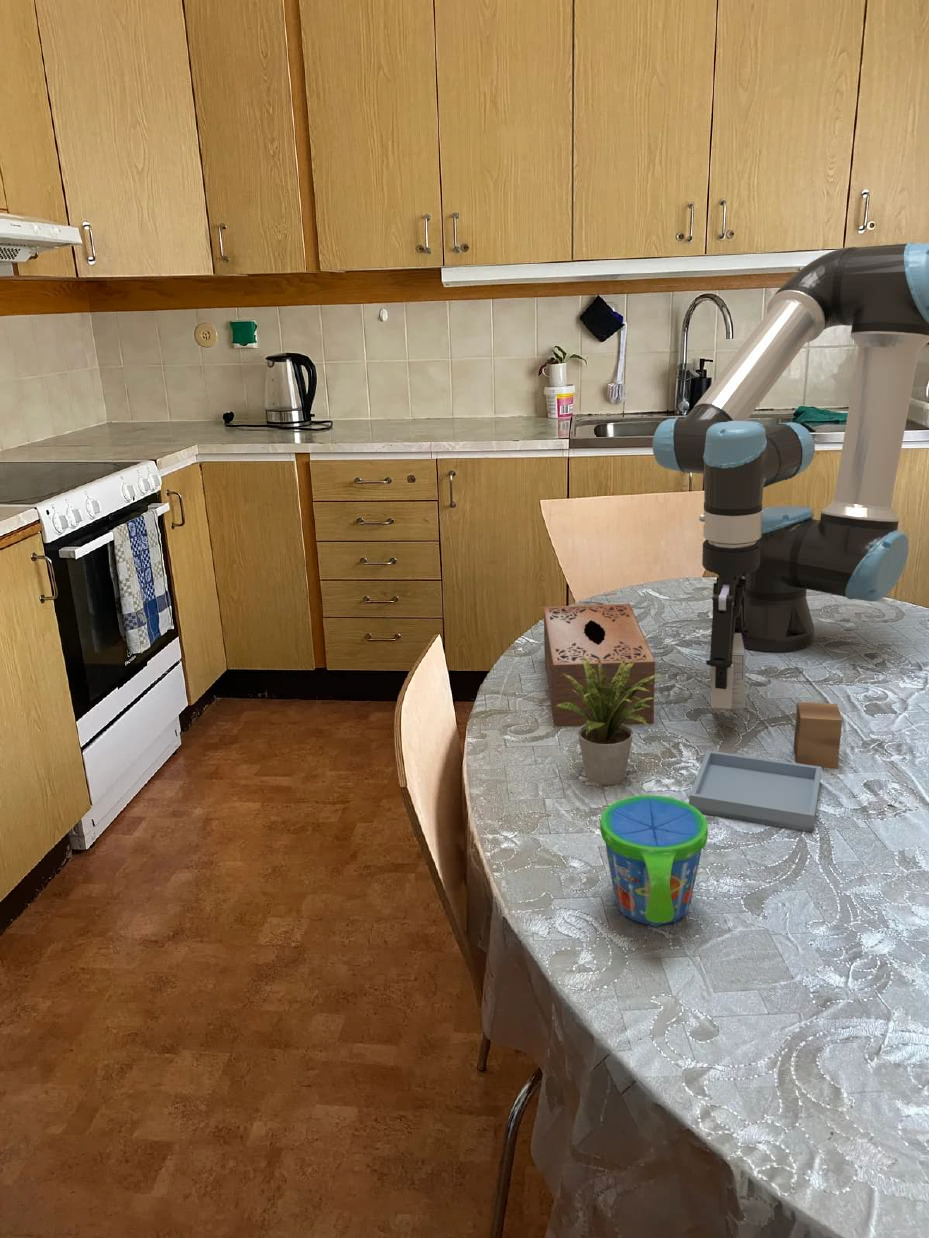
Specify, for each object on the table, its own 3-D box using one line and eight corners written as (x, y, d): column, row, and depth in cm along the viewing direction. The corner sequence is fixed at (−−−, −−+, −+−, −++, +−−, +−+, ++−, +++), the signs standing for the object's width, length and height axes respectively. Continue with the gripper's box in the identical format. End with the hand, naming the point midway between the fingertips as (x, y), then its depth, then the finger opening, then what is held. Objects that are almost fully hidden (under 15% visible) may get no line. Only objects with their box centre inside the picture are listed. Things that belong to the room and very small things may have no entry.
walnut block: (793, 748, 128) (797, 701, 125) (832, 751, 126) (837, 703, 124) (796, 766, 123) (800, 717, 121) (837, 769, 122) (842, 720, 120)
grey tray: (706, 765, 124) (707, 750, 124) (820, 782, 119) (821, 766, 118) (688, 811, 114) (689, 795, 113) (812, 832, 108) (814, 815, 108)
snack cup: (605, 858, 105) (605, 778, 102) (702, 866, 103) (705, 784, 100) (594, 950, 91) (594, 860, 88) (706, 961, 89) (710, 870, 85)
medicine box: (744, 711, 130) (746, 653, 127) (711, 710, 131) (712, 653, 128) (740, 686, 137) (742, 631, 134) (709, 686, 138) (710, 631, 135)
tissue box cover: (544, 661, 162) (543, 606, 158) (628, 659, 161) (629, 603, 158) (554, 728, 137) (553, 665, 134) (653, 725, 137) (655, 661, 133)
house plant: (651, 816, 113) (654, 692, 108) (541, 799, 118) (538, 680, 112) (669, 761, 126) (673, 647, 120) (569, 748, 130) (567, 639, 125)
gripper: (716, 518, 136) (712, 661, 144) (688, 562, 118) (685, 722, 126) (770, 520, 133) (763, 666, 141) (749, 565, 115) (743, 729, 123)
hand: (726, 692), depth 134 cm, fingers closed on medicine box, 8 cm apart
